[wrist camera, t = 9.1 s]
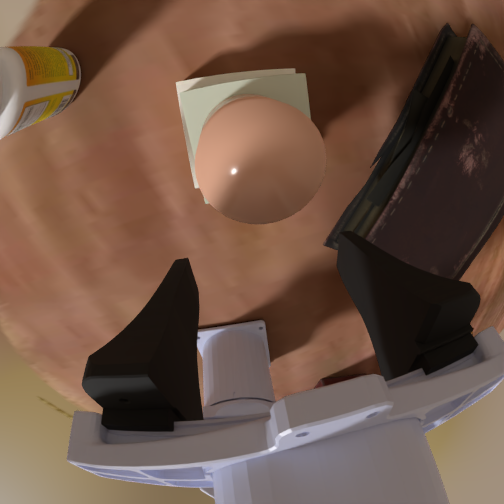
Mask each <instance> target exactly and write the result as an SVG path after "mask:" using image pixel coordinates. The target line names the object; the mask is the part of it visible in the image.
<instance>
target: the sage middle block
mask: <svg viewBox="0 0 504 504" xmlns="http://www.w3.org/2000/svg"><path fill="white" fill-rule="evenodd" d="M179 94H180V98H181V103H182V107H183V112H184V116H185V121H186V125H187V130H188V134H189V138H190V143H191V147H192V151H193V155H194V159H195V154H196V150H197V146H198V142H199V138H200V134H201V130H202V126H203V124H204V121H205V119H206V117H207V116H208V114H209V113H210V112H211V110H212V109H213V108H214V107H215V106H216V105H218V104H219V103H220V102H222V101H223V100H225V99H227V98H229V97H232V96H235V95H239V94H257V95H261V96H265V97H268V98H271V99H274V100H277V101H280V102H283V103H286V104H289V105H291V106H293V107H295V108H297V109H298V110H300V111H301V112H303V113H304V114H305V115H306V116H307V117H308V118H310V120H311V116H310V107H309V98H308V90H307V82H306V74H305V73H297V74H281V75H271V76H263V77H255V78H248V79H241V80H235V81H229V82H224V83H218V84H213V85H208V86H203V87H199V88H194V89H190V90H186V91H183V92H181V93H179ZM203 196H204V195H203ZM204 200H205V204H208V203H209V202H208V201H207V200H206V198H205V197H204Z"/></svg>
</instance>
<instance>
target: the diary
mask: <svg viewBox="0 0 504 504" xmlns="http://www.w3.org/2000/svg"><path fill="white" fill-rule="evenodd" d="M381 156H382V157H381ZM380 157H381V158H380ZM379 158H380V160H379V162H378V164H377V165H376V167H375V169H374V170H373V172H372V174H371V176H370V177H369V179H368V181H367V182H366V184H365V186H364V187H363V188H362V189H361V191H360V192H359V193H358V194H357V195H356V197H355V198H354V199H353V200H352V202H351V203H350V204H349V205H348V207H347V208H346V209H345V211H344V213H343V214H342V216H341V217H340V219H339V220H338V222H337V223H336V225H335V227H334V228H333V230H332V231H331V233H330V234H329V236H328V237H327V239H326V240H325V242H324V243H323V245H324V246H327V247H330V248H333V249H335V250H338V241H339V232H344V231H352V232H354V233H356V234H358V235H359V236H361V237H363V238H364V239H366V240H367V241H369V242H370V243H372V244H374V245H375V246H377V247H378V248H380V249H382V250H383V251H385V252H387V253H389V254H390V255H392V256H394V257H396V258H398V259H399V260H401V261H403V262H405V263H408V264H410V265H412V266H414V267H416V268H419V269H421V270H424V271H427V272H429V273H432V274H435V275H438V276H441V277H445V278H449V279H452V280H457V281H459V280H460V278H461V277H462V276H463V274H464V273H465V271H466V270H467V269H468V267H469V266H470V264H471V263H472V261H473V260H474V259H475V257H476V256H477V254H478V253H479V252H480V250H481V249H482V248H483V246H484V245H485V243H486V242H487V240H488V239H489V238H490V236H491V235H492V233H493V232H494V230H495V229H496V227H497V226H498V224H499V222H500V221H501V219H502V218H503V216H504V61H503V60H502V58H501V57H500V55H499V54H498V52H497V51H496V50H495V48H494V47H493V46H492V44H491V43H490V42H489V40H488V39H487V38H486V37H485V35H484V34H483V33H482V32H481V31H480V30H479V29H478V28H477V27H476V26H475V25H474V24H472V25H471V28H470V30H469V33H468V36H467V38H466V37H457V36H456V35H455V33H454V32H453V31H452V29H451V27H450V25H449V24H448V23H447V24H446V25H445V26H444V27H443V28H442V30H441V31H440V33H439V35H438V37H437V39H436V42H435V44H434V46H433V48H432V50H431V52H430V54H429V56H428V58H427V60H426V62H425V64H424V66H423V68H422V70H421V72H420V74H419V76H418V78H417V81H416V83H415V85H414V87H413V89H412V91H411V93H410V95H409V97H408V99H407V102H406V104H405V106H404V108H403V110H402V112H401V114H400V116H399V118H398V120H397V122H396V124H395V125H394V127H393V129H392V130H391V132H390V134H389V135H388V137H387V139H386V140H385V142H384V144H383V145H382V147H381V149H380V150H379V152H378V154H377V156H376V158H375V160H374V162H373V164H372V166H373V165H374V164H375V163H376V162H377V160H378V159H379ZM372 166H371V167H372ZM371 167H370V168H371Z"/></svg>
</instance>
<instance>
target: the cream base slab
mask: <svg viewBox="0 0 504 504" xmlns="http://www.w3.org/2000/svg"><path fill="white" fill-rule="evenodd" d="M281 74H296V73H295V68H291V69H270V70H256V71H245V72H236V73H228V74H221V75H214V76H207V77H201V78H195V79H190V80H185V81H180V82H176V87H177V93H178V99H179V105H180V111H181V117H182V123H183V128H184V134H185V139H186V145H187V150H188V155H189V160H190V166H191V171H192V176H193V181H194V186H195V188H199V185H198V182H197V179H196V174H195V159H194V155H193V151H192V147H191V143H190V138H189V134H188V130H187V125H186V121H185V116H184V112H183V107H182V103H181V98H180V94H179V93H181V92H183V91H186V90H190V89H194V88H199V87H203V86H208V85H213V84H218V83H224V82H229V81H235V80H241V79H248V78H255V77H263V76H271V75H281Z"/></svg>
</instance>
